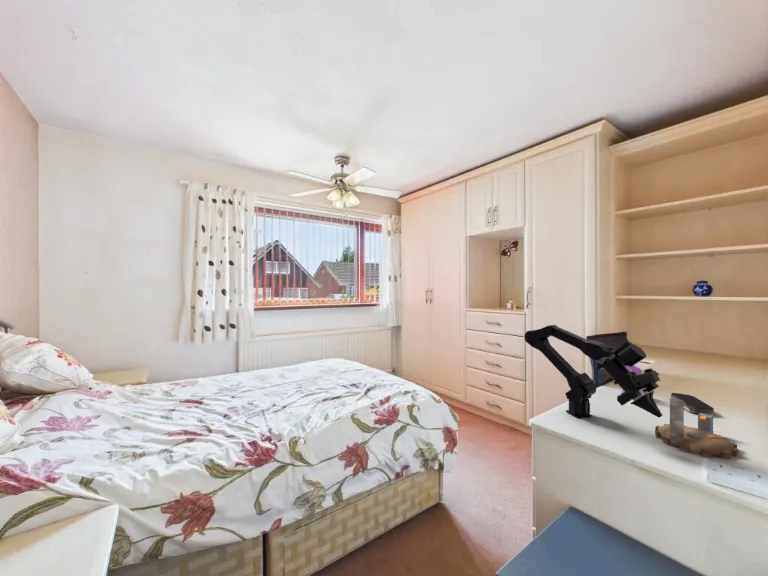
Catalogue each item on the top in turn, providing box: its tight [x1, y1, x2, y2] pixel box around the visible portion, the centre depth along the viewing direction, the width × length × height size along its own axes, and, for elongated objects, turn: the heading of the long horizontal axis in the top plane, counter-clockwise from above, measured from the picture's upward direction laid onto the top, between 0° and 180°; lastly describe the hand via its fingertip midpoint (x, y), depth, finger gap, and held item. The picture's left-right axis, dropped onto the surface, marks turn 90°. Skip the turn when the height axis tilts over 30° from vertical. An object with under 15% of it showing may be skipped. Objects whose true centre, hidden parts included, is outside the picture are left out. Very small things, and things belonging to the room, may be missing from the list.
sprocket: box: [654, 397, 739, 460], centre depth 101 cm, size 19×19×14 cm
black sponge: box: [670, 392, 715, 417], centre depth 130 cm, size 16×8×4 cm, turn 160°
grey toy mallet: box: [697, 413, 714, 433], centre depth 107 cm, size 3×6×6 cm, turn 123°
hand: (660, 416), depth 102 cm, fingers closed
